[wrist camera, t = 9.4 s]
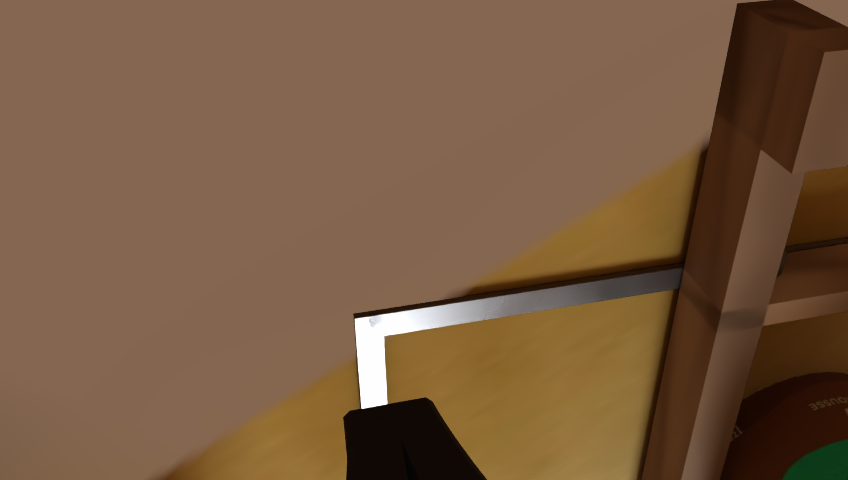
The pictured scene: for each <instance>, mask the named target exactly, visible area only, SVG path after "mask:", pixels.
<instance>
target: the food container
mask: <svg viewBox="0 0 848 480" xmlns="http://www.w3.org/2000/svg"><path fill="white" fill-rule="evenodd" d="M720 480H848V374H845V373H836V372H823V373H812V374H807V375H802V376H798V377H793V378H790V379H788V380H785V381H782V382H779V383H776V384H773V385H771V386H769V387H767V388H765V389H762V390H760V391H758V392H756V393H754V394H752V395H751V396H749V397H747V398H746V399H744V400H742V402H741V405H740V409H739V412H738V416H737V420H736V423H735V427H734V430H733V434H732V437H731V441H730V445H729V448H728V452H727V455H726V459H725V462H724V466H723V470H722V473H721V477H720Z"/></svg>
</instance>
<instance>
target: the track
mask: <svg viewBox="0 0 848 480" xmlns="http://www.w3.org/2000/svg"><path fill="white" fill-rule="evenodd" d="M847 243H848V237H847V238H840V239H834V240H827V241H821V242H814V243H808V244H802V245H795V246H789V247H785V248H784V249H785V250H786V252H787V253H789V252H795V251H802V250H808V249H814V248H821V247H827V246H834V245H840V244H847ZM684 266H685V263H679V264H672V265H666V266H659V267H653V268H646V269H640V270H633V271H627V272H620V273H614V274H608V275H601V276H595V277H588V278H582V279H575V280H569V281H562V282H556V283H549V284H543V285H536V286H530V287H523V288H517V289H511V290H504V291H498V292H491V293H485V294H478V295H472V296H465V297H459V298H452V299H446V300H439V301H433V302H426V303H420V304H414V305H407V306H401V307H394V308H388V309H381V310H375V311H368V312H362V313H355V314H353V315H354V326H355V340H356V353H357V366H358V378H359V391H360V404H361V409H363V408H369V407H374V406H380V405H386V404H387V392H386V373H385V355H384V336H387V335H393V334H399V333H406V332H412V331H418V330H424V329H430V328H437V327H443V326H449V325H455V324H462V323H468V322H474V321H480V320H486V319H493V318H499V317H505V316H511V315H518V314H524V313H530V312H536V311H542V310H549V309H555V308H561V307H567V306H574V305H580V304H586V303H592V302H598V301H605V300H611V299H617V298H623V297H630V296H636V295H642V294H648V293H654V292H661V291H667V290H673V289H679V288H680V286H681V281H682V276H683V271H684Z"/></svg>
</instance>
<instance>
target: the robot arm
mask: <svg viewBox="0 0 848 480" xmlns="http://www.w3.org/2000/svg"><path fill="white" fill-rule="evenodd" d="M343 419H344V430H345V440H346V451H347V476H346V480H487V479H486V478H485V477H484V475H483V474H482V473H481V472H480V470H479V469H478V468H477V466H476V465H475V464H474V462H473V461H472V460H471V458H470V457H469V456H468V454H467V453H466V452H465V450H464V449H463V448H462V446H461V445H460V443H459V442H458V441H457V439H456V438H455V436H454V435H453V433H452V432H451V431H450V429H449V427H448V426H447V424H446V423H445V421H444V420H443V418H442V417H441V415H440V413H439V412H438V410H437V409H436V407H435V405H434V403H433V402H432V401H431V400H429V399H428V398H426V397H425V398H420V399H414V400H408V401H403V402H397V403H391V404H386V405H380V406H374V407H369V408H363V409H357V410H352V411H349V412H348V413H347V414H346V415H345V416H344V417H343Z"/></svg>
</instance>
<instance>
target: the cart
mask: <svg viewBox="0 0 848 480" xmlns="http://www.w3.org/2000/svg"><path fill="white" fill-rule="evenodd" d="M846 166H848V27H846V26H844V25H842V24H840V23H838V22H836V21H834V20H832V19H830V18H828V17H826V16H824V15H822V14H820V13H818V12H816V11H814V10H812V9H810V8H808V7H806V6H804V5H802V4H800V3H798V2H796V1H794V0H770V1H759V2H748V3H738V4H737V8H736V13H735V18H734V23H733V28H732V32H731V37H730V43H729V47H728V52H727V57H726V62H725V67H724V73H723V77H722V82H721V87H720V92H719V98H718V103H717V107H716V112H715V118H714V122H713V127H712V132H711V137H710V142H709V147H708V152H707V157H706V162H705V167H704V172H703V177H702V182H701V187H700V192H699V197H698V202H697V207H696V212H695V217H694V222H693V227H692V231H691V236H690V241H689V246H688V251H687V256H686V261H685V266H684V271H683V276H682V281H681V286H680V291H679V296H678V301H677V306H676V311H675V316H674V321H673V326H672V331H671V336H670V341H669V346H668V351H667V356H666V361H665V366H664V371H663V376H662V381H661V386H660V391H659V396H658V401H657V406H656V411H655V416H654V421H653V426H652V431H651V436H650V440H649V445H648V450H647V455H646V460H645V465H644V470H643V475H642V480H720V477H721V473H722V470H723V466H724V462H725V459H726V455H727V452H728V448H729V445H730V441H731V437H732V434H733V430H734V427H735V423H736V420H737V416H738V412H739V409H740V405H741V402H742V398H743V395H744V391H745V387H746V384H747V380H748V377H749V373H750V370H751V366H752V362H753V359H754V355H755V352H756V348H757V345H758V341H759V338H760V334H761V330H762V327H763V326H766V325H772V324H777V323H783V322H789V321H795V320H801V319H806V318H812V317H818V316H824V315H829V314H835V313H841V312H847V311H848V243H847V244H840V245H834V246H827V247H821V248H814V249H808V250H802V251H795V252H789V253H787V252H786V250H785V249H784V248H785V245H786V241H787V238H788V234H789V230H790V227H791V223H792V220H793V216H794V213H795V209H796V205H797V202H798V198H799V195H800V191H801V188H802V184H803V180H804V177H805V173H806V172H810V171H817V170H824V169H831V168H839V167H846Z"/></svg>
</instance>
